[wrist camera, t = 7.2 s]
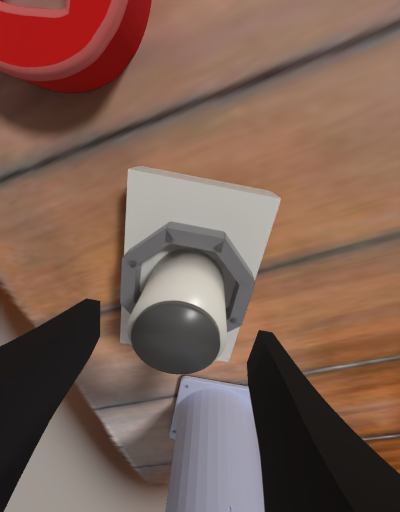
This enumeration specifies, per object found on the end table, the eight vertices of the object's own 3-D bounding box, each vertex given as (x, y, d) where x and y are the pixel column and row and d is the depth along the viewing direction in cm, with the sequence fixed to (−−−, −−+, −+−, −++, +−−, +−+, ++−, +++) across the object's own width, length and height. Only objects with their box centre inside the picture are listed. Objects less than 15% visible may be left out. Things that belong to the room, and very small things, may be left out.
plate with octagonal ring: (226, 337, 19) (229, 376, 16) (131, 320, 19) (113, 356, 16) (270, 191, 14) (287, 203, 11) (141, 165, 14) (119, 170, 11)
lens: (216, 315, 15) (216, 385, 11) (150, 304, 15) (123, 370, 11) (230, 255, 14) (238, 310, 9) (155, 243, 13) (124, 291, 9)
